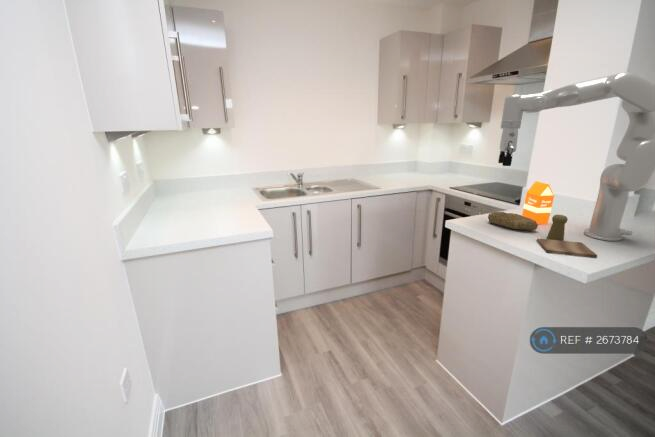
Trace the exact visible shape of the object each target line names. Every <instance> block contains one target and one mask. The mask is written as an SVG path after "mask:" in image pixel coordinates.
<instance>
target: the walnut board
mask: <svg viewBox="0 0 655 437" xmlns="http://www.w3.org/2000/svg"><path fill="white" fill-rule="evenodd" d="M536 242H537V244H539V246H540V247H541V248H542V249H543V251H544V252H545V253H546V254H554V255H563V254H564V255H565V256H572V255H574V256H573V257H583V258H593V259H597V258H598V254H596V252H594V251H593V250H592V249H590V248H589V247H588V246H587V245H586V244H585V243H583V242H579V241H570V240H569V241H568V240H564V241H560V240H550V239H547V238H538V237H537V238H536ZM564 255H563V256H564Z"/></svg>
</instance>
